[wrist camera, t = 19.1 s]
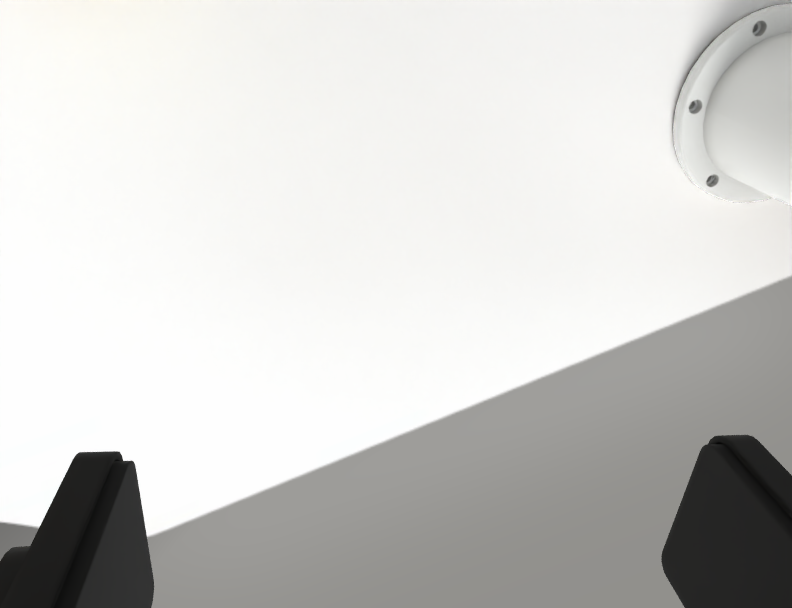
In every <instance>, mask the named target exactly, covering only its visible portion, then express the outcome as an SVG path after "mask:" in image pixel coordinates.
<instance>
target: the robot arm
mask: <svg viewBox="0 0 792 608" xmlns="http://www.w3.org/2000/svg"><path fill="white" fill-rule="evenodd" d="M753 27H754V28H753ZM690 104H691V105H690ZM689 106H690V107H689ZM673 136H674V147H675V151H676V154H677V158H678V161H679V163H680V165H681V167H682V169H683V171H684V173H685V174H686V175H687V176H688V178H689V179H690V180H691V181H692V182H693V183H694V184H695V185H696V186H698V187H699V188H701V189H702V190H703V191H705V192H706V193H709V194H711V195H713V196H715V197H717V198H719V199H722V200H726V201H730V202H738V203H751V202H757V201H764V200H768V199H770V198H775V199H777V200H779V201H781V202H783V203H785V204H787V205H790V206H792V3H788V4H782V5H775V6H770V7H767V8H765V9H762V10H759V11H756V12H753V13H751V14H750V15H748V16H746V17H744V18H743V19H741V20H739V21H737V22H735V23H734V24H733V25H732V26H730V27H729V28H728V29H727V30H725V31H724V32H723V33H722V34H720V35H719V36H718V37H717V38H716V39H715V40H714V41H713V42H712V43H711V44H710V45H709V47H708V48H707V49H706V50H705V51H704V52H703V53H702V55H701V56H700V58H699V59H698V60H697V62H696V63H695V65H694V66H693V68H692V69H691V71H690V73H689V75H688V77H687V79H686V81H685V83H684V85H683V87H682V89H681V92H680V96H679V99H678V102H677V105H676V109H675V116H674V124H673ZM662 566H663V570H664V573H665V574H666V577H667V578H668V580H669V582H670V583H671V585H672V587H673V588H674V590H675V592H676V593H677V595H678V597H679V599H680V600H681V602H682V603H683V605H684V607H685V608H792V476H791V474H790V473H789V472H788V471H787V470H786V469H785V468H784V467H783V466H782V465H781V464H780V463H779V462H778V461H777V460H776V459H775V458H774V457H773V456H772V455H771V454H770V453H769V452H768V450H767V449H766V448H765V447H764V446H763V445H762V444H761V443H760V442H759V441H758V440H757V439H755V438H754V437H752V436H749V435H727V436H715V437H713V438H712V439H711V440H710V441H709V443H708V445H705V446H703V447H702V449H701V451H700V453H699V456H698V459H697V461H696V464H695V467H694V469H693V472H692V475H691V477H690V480H689V483H688V485H687V488H686V491H685V493H684V496H683V499H682V501H681V504H680V506H679V509H678V512H677V514H676V517H675V520H674V522H673V525H672V528H671V530H670V533H669V536H668V538H667V541H666V544H665V546H664V549H663V552H662ZM153 593H154V580H153V573H152V568H151V561H150V554H149V548H148V542H147V536H146V530H145V523H144V517H143V511H142V505H141V499H140V492H139V486H138V480H137V474H136V468H135V464H134V462H133V461H123V459H122V455H121V454H120V452H80V453H78V454H77V455H76V456H75V457H74V459H73V461H72V463H71V465H70V467H69V469H68V471H67V473H66V475H65V477H64V479H63V481H62V483H61V485H60V487H59V489H58V491H57V493H56V495H55V497H54V499H53V501H52V503H51V505H50V507H49V509H48V511H47V513H46V515H45V518H44V520H43V522H42V524H41V526H40V528H39V530H38V532H37V534H36V536H35V538H34V540H33V542H32V544H31V546H25V547H14V548H11V549H10V550H9V551H8V552H7V553H6V554H5V555H4V557H3V558H2V559H1V561H0V608H151V606H152V601H153Z"/></svg>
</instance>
